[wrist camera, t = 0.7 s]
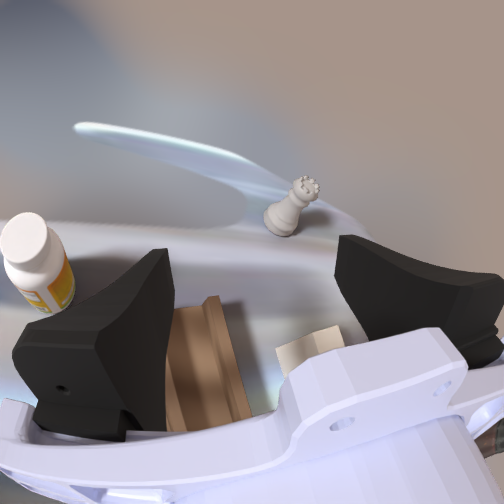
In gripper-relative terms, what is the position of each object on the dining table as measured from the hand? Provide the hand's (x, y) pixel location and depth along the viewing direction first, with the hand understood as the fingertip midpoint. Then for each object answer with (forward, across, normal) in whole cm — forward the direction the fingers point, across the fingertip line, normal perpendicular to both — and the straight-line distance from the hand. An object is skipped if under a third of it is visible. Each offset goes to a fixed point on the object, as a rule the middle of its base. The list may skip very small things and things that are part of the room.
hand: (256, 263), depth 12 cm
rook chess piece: (+24, -6, +8) cm, 26 cm away
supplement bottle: (+11, +18, +7) cm, 22 cm away
